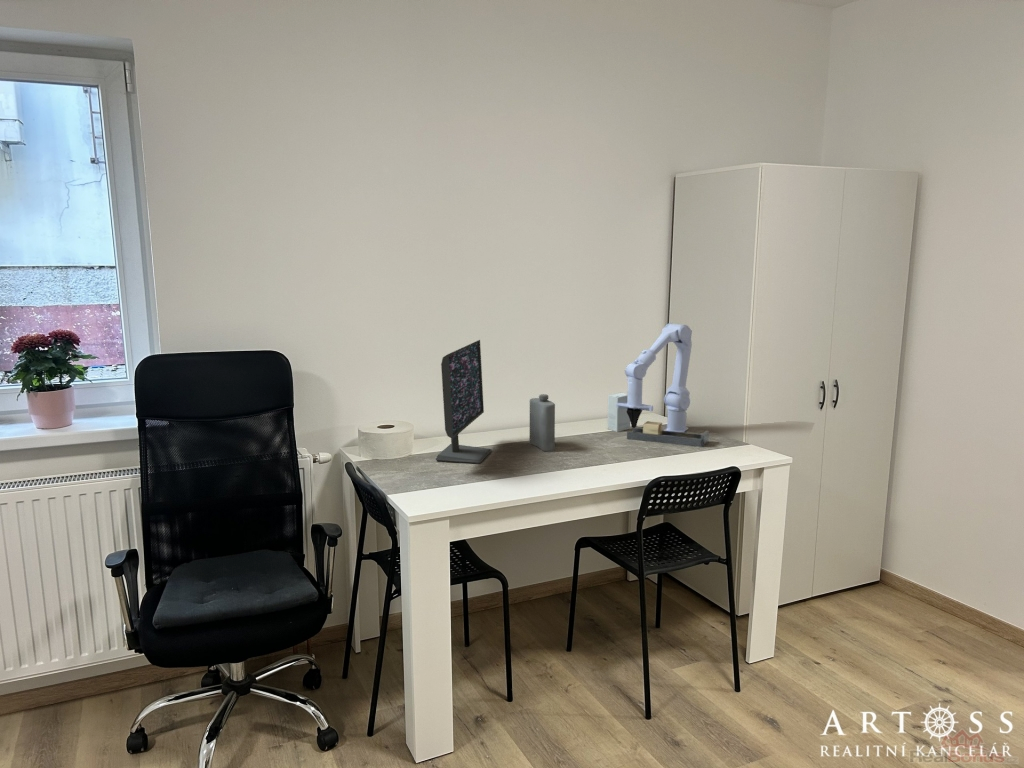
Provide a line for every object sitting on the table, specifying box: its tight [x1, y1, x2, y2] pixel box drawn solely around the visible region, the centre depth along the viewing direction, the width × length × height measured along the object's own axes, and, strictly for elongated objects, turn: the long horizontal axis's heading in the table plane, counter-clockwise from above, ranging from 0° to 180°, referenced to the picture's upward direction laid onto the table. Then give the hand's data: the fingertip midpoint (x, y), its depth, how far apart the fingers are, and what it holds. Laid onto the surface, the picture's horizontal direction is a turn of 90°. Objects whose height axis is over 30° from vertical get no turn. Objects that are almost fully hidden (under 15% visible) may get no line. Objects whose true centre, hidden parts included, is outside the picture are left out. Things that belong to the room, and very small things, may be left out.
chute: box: [626, 427, 710, 448], centre depth 299 cm, size 9×30×4 cm, turn 64°
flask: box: [529, 393, 556, 452], centre depth 288 cm, size 15×6×20 cm, turn 24°
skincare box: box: [606, 392, 631, 433], centre depth 317 cm, size 8×6×15 cm
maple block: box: [642, 421, 663, 435], centre depth 302 cm, size 6×6×5 cm
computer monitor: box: [435, 339, 492, 464], centre depth 273 cm, size 44×16×40 cm, turn 168°
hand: (633, 427), depth 305 cm, fingers closed
